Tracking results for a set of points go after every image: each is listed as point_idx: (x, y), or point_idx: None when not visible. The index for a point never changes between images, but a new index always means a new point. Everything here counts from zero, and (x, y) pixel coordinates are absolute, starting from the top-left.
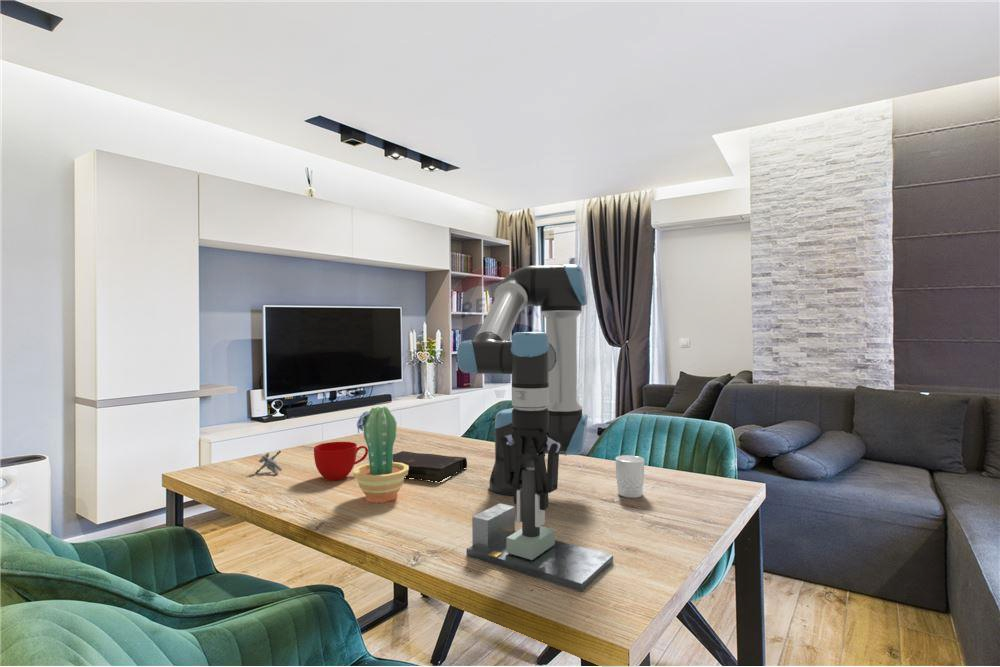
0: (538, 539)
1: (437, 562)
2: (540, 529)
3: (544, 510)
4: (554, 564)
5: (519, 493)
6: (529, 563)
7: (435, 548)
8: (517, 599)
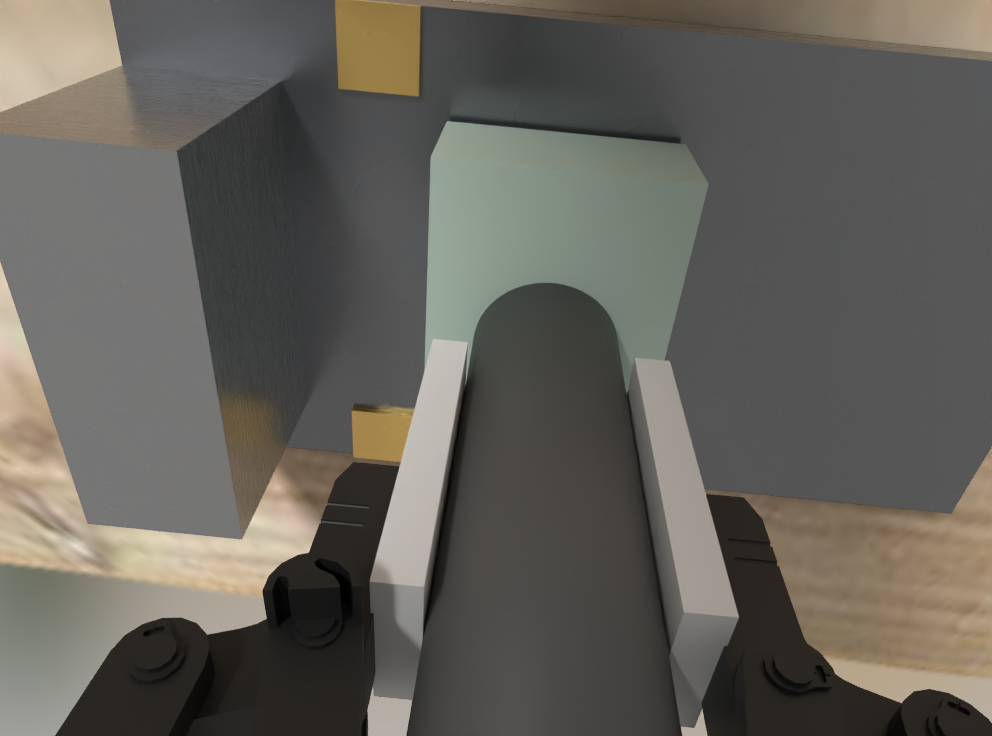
0: None
1: None
2: (580, 237)
3: (688, 446)
4: (760, 399)
5: None
6: None
7: (6, 406)
8: None
